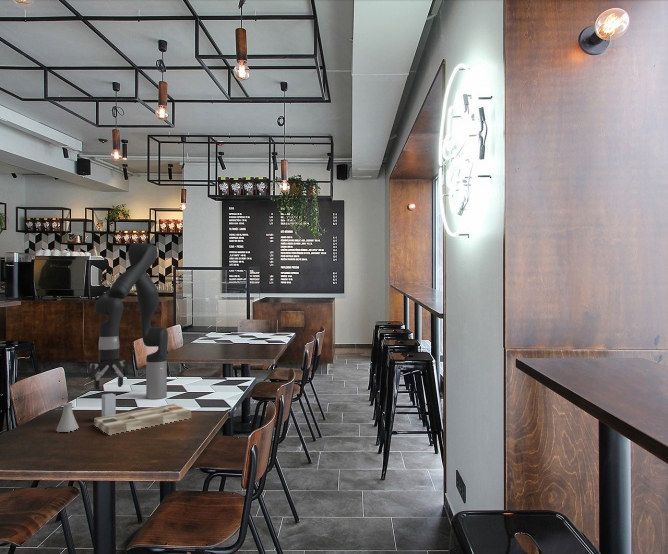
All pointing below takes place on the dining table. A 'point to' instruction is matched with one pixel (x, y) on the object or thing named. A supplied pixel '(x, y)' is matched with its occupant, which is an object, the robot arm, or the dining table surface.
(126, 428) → the socket block
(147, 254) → the robot arm
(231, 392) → the dining table surface
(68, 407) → the flask
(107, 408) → the plug
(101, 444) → the dining table surface
